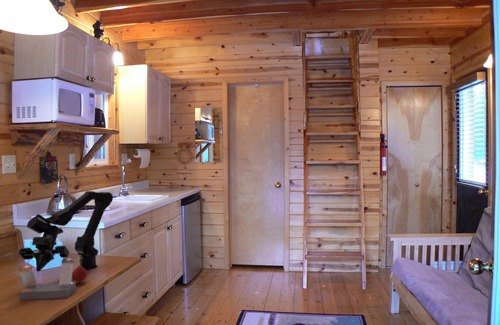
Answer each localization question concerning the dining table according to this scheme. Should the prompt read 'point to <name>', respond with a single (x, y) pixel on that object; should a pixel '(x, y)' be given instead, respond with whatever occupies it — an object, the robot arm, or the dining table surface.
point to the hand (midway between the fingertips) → (37, 271)
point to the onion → (79, 274)
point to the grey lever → (66, 271)
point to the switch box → (47, 291)
